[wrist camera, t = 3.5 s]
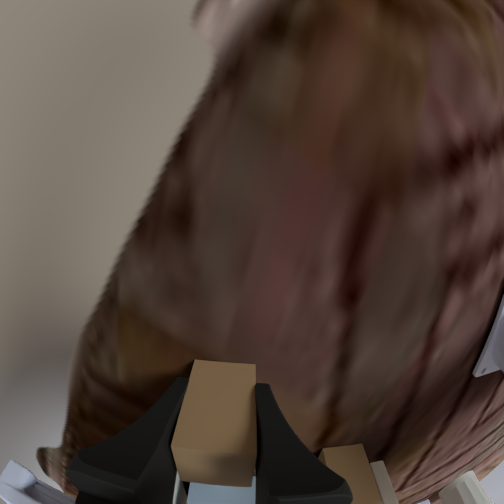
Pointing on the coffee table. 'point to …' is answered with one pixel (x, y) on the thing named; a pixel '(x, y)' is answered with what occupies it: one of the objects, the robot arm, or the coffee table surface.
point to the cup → (465, 491)
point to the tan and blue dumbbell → (218, 434)
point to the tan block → (353, 471)
